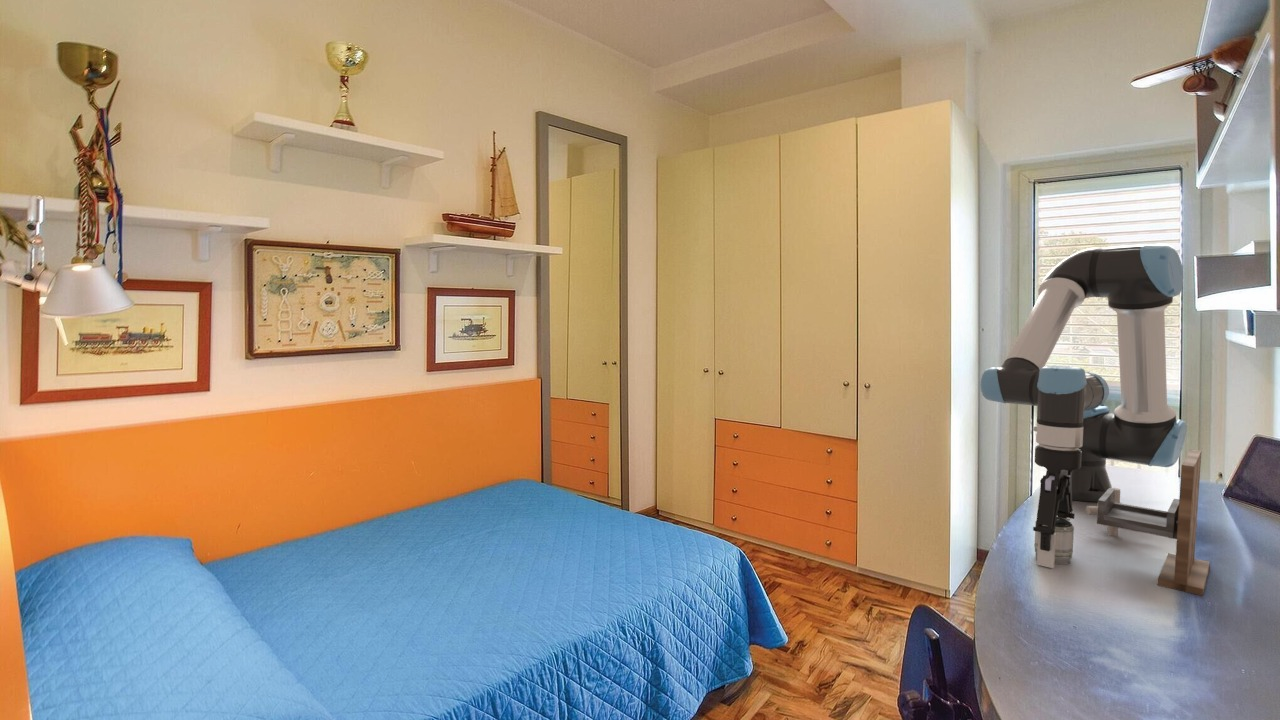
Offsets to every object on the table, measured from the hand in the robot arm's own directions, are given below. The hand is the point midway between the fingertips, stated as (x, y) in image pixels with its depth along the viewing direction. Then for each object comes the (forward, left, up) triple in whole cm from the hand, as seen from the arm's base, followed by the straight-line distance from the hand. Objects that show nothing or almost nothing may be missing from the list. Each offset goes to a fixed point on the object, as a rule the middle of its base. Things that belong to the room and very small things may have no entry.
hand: (1052, 557), depth 123 cm
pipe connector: (-24, +6, 0) cm, 25 cm away
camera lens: (0, 0, 0) cm, 0 cm away
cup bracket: (-7, +14, 0) cm, 16 cm away
